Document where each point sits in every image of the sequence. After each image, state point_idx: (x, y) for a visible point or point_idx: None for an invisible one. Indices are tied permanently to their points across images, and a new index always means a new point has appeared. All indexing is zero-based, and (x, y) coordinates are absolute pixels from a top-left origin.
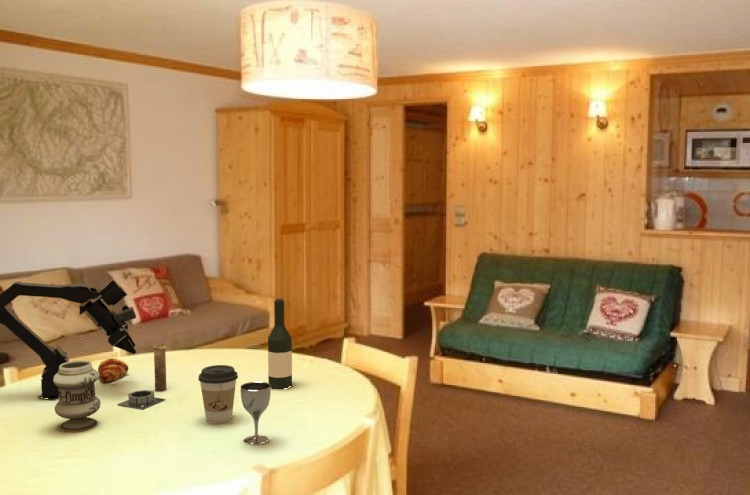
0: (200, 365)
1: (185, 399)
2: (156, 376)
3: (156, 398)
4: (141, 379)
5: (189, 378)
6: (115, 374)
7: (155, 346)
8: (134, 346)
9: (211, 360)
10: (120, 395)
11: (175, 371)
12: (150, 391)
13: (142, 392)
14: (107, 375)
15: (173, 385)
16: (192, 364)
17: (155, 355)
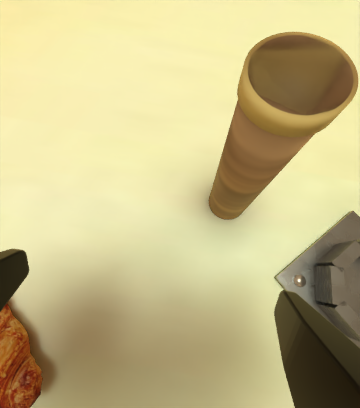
0: (34, 61)
1: (356, 157)
2: (252, 200)
3: (338, 234)
4: (72, 236)
5: (145, 108)
6: (15, 338)
7: (332, 106)
8: (26, 259)
9: (6, 31)
10: (235, 347)
11: (49, 126)
12: (355, 250)
13: (342, 280)
14: (30, 387)
15: (195, 159)
16: (9, 75)
17: (293, 154)
